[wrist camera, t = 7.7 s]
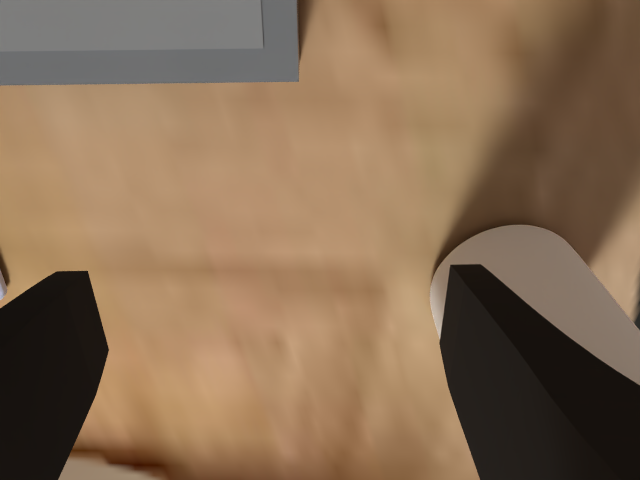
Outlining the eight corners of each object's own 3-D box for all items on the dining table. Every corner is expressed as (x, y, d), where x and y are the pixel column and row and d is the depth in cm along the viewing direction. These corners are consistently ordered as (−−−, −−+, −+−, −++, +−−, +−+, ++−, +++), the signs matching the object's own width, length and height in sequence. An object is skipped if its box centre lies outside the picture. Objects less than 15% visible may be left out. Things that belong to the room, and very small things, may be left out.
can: (442, 214, 22) (561, 479, 12) (598, 223, 22) (849, 489, 12) (415, 338, 25) (490, 631, 15) (552, 344, 26) (717, 635, 15)
